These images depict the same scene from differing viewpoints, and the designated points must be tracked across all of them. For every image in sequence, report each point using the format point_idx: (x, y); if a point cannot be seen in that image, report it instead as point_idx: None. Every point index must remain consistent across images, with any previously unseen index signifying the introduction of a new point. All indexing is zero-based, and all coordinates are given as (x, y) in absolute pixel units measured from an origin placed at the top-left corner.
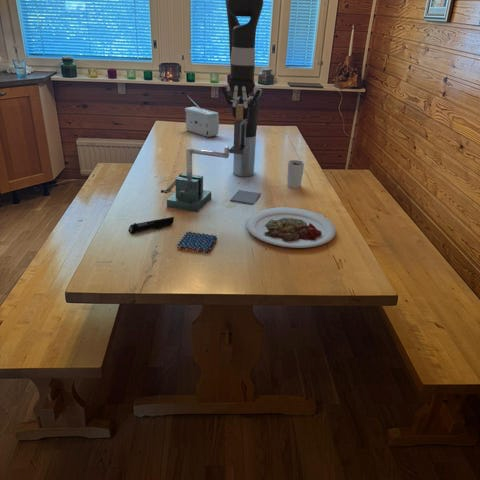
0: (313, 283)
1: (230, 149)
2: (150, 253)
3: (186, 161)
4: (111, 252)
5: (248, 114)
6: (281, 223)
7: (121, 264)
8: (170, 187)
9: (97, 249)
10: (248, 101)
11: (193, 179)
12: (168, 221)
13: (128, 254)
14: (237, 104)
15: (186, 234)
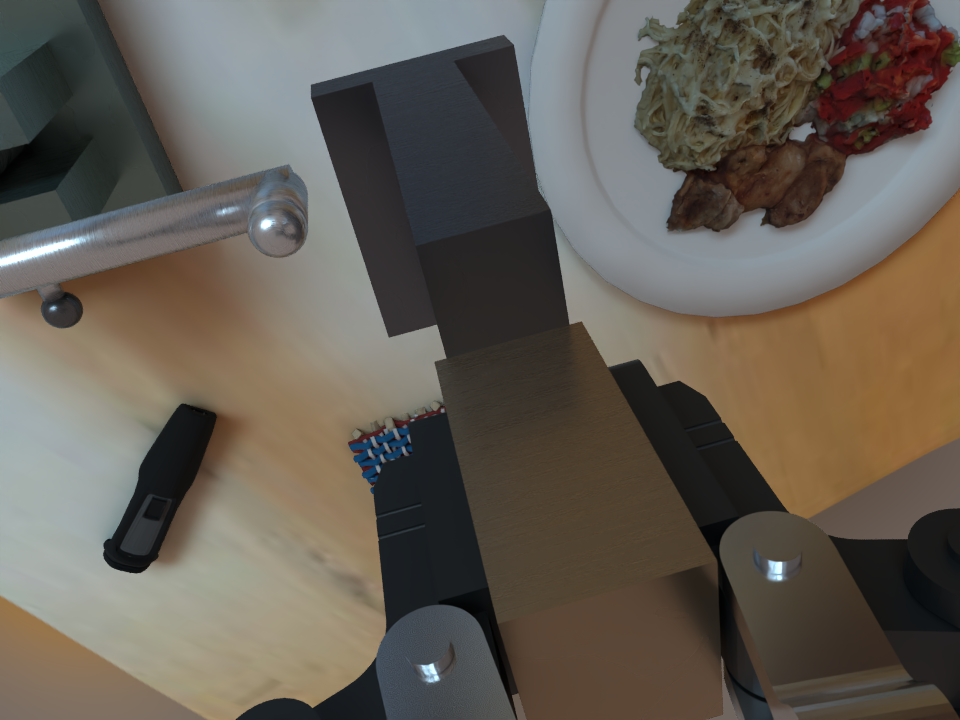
0: (919, 417)
1: (402, 330)
2: (338, 593)
3: None
4: (221, 658)
5: (719, 430)
6: (742, 112)
7: (315, 672)
8: None
9: (163, 674)
10: (864, 665)
11: (14, 209)
12: (203, 440)
13: (280, 635)
14: (507, 691)
15: (364, 462)
